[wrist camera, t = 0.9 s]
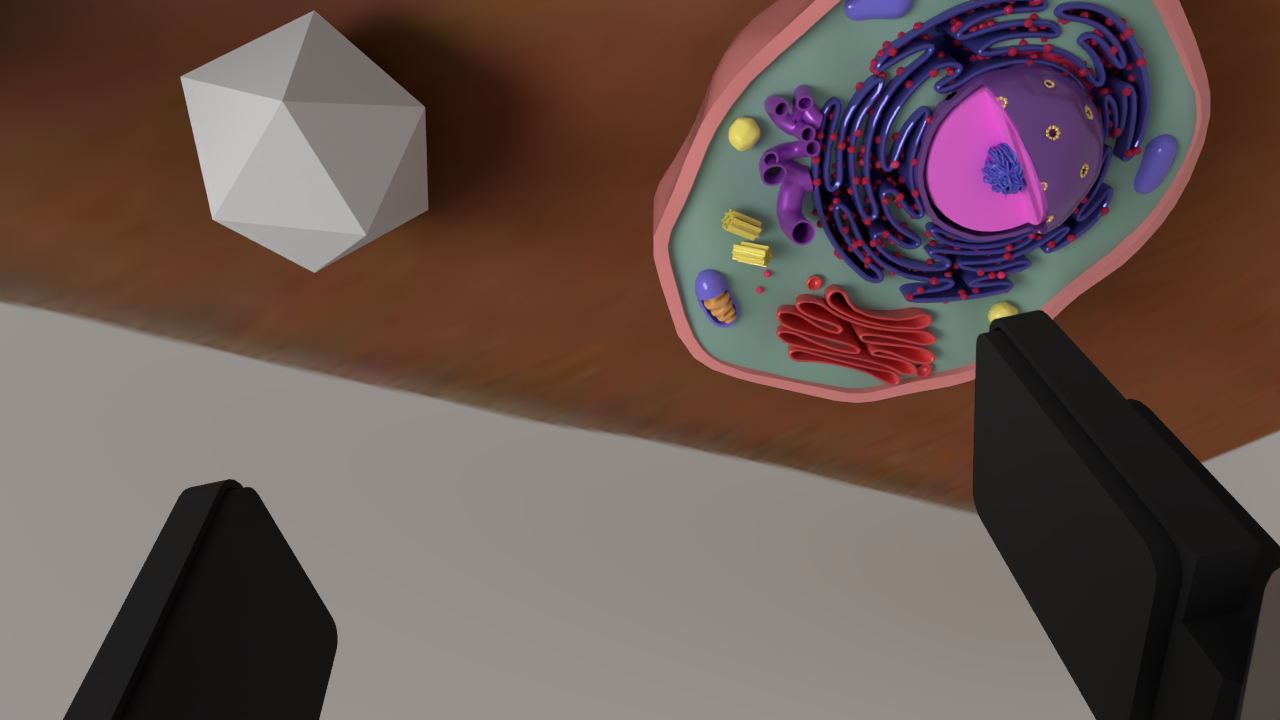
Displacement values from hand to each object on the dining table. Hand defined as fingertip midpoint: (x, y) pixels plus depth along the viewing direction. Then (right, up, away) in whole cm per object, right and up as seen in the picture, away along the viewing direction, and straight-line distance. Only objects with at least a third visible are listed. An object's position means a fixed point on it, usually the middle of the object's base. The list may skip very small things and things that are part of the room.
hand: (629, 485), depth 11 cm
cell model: (+9, +12, +27) cm, 31 cm away
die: (-12, +12, +25) cm, 30 cm away
